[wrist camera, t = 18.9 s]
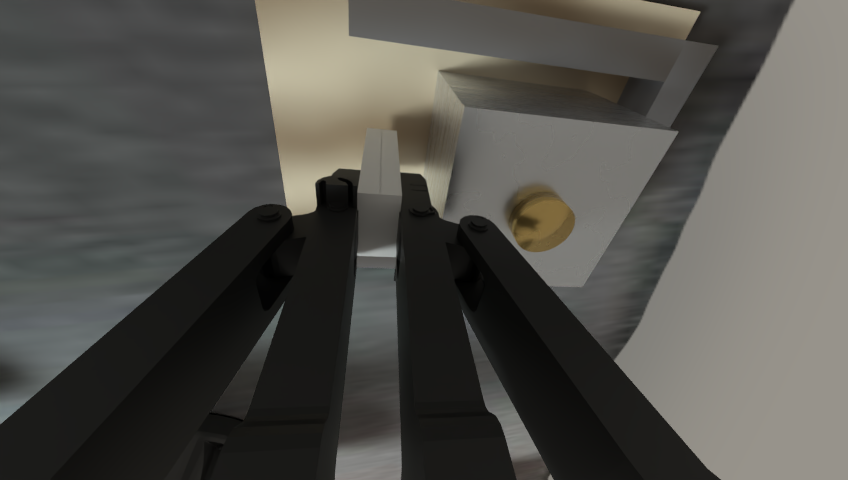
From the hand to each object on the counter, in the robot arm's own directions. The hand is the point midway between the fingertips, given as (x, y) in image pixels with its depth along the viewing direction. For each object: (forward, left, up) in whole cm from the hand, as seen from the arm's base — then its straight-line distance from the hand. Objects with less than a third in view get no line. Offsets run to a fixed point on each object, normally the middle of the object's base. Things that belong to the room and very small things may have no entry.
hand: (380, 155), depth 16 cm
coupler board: (0, -5, -2) cm, 5 cm away
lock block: (0, -7, -1) cm, 7 cm away
